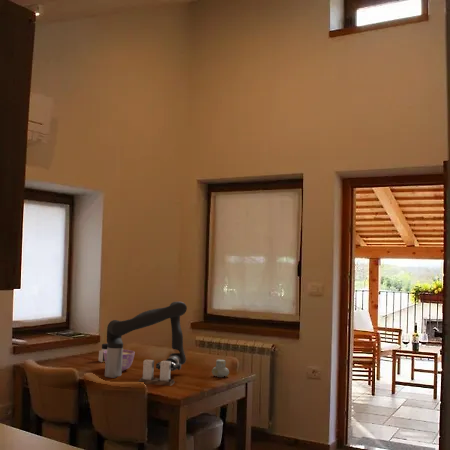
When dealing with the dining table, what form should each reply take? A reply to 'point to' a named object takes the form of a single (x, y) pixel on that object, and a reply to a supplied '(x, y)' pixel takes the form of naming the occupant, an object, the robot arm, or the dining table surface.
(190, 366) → the dining table surface
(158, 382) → the pallet
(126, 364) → the bowl of food
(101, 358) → the medicine bottle
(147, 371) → the block
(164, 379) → the block
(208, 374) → the dining table surface
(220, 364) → the air freshener
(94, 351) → the dining table surface
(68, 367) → the dining table surface
